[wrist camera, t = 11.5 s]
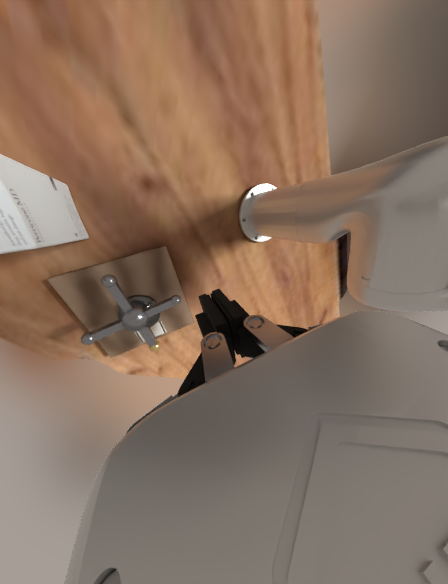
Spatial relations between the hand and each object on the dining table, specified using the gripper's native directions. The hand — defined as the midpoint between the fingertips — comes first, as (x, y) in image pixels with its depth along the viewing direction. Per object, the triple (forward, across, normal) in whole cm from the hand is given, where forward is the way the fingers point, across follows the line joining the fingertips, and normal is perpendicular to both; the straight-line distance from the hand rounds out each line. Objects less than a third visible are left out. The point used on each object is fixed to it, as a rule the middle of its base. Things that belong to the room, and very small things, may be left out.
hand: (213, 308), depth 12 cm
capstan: (+24, +12, +9) cm, 28 cm away
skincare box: (+26, +16, -10) cm, 32 cm away
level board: (+26, +12, +9) cm, 29 cm away
